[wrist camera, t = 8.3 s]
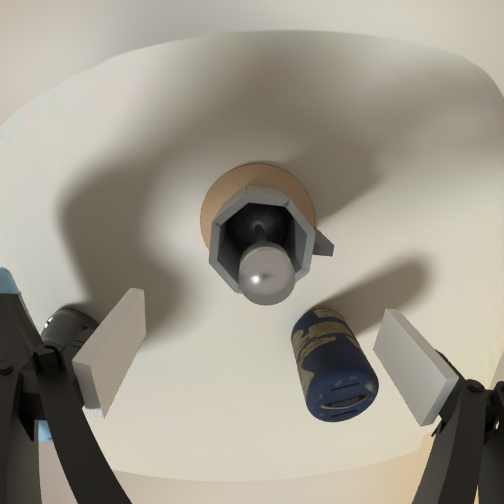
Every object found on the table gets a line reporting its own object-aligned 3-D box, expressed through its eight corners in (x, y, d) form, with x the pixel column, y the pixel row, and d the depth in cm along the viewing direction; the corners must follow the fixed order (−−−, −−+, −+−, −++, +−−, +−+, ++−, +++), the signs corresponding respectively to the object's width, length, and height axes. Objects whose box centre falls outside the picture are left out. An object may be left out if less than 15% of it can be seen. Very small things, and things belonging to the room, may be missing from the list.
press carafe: (197, 268, 44) (178, 312, 31) (205, 159, 40) (185, 156, 27) (304, 278, 45) (325, 325, 32) (320, 171, 41) (353, 176, 27)
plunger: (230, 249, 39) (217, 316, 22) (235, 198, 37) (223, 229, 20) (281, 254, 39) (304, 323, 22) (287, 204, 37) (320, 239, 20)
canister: (294, 303, 46) (317, 377, 29) (350, 306, 47) (394, 373, 29) (286, 353, 49) (301, 433, 32) (338, 354, 49) (370, 427, 32)
